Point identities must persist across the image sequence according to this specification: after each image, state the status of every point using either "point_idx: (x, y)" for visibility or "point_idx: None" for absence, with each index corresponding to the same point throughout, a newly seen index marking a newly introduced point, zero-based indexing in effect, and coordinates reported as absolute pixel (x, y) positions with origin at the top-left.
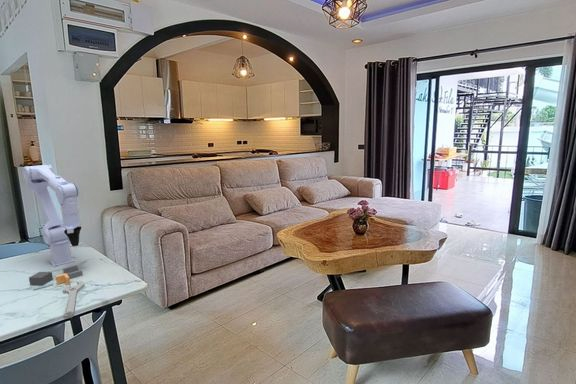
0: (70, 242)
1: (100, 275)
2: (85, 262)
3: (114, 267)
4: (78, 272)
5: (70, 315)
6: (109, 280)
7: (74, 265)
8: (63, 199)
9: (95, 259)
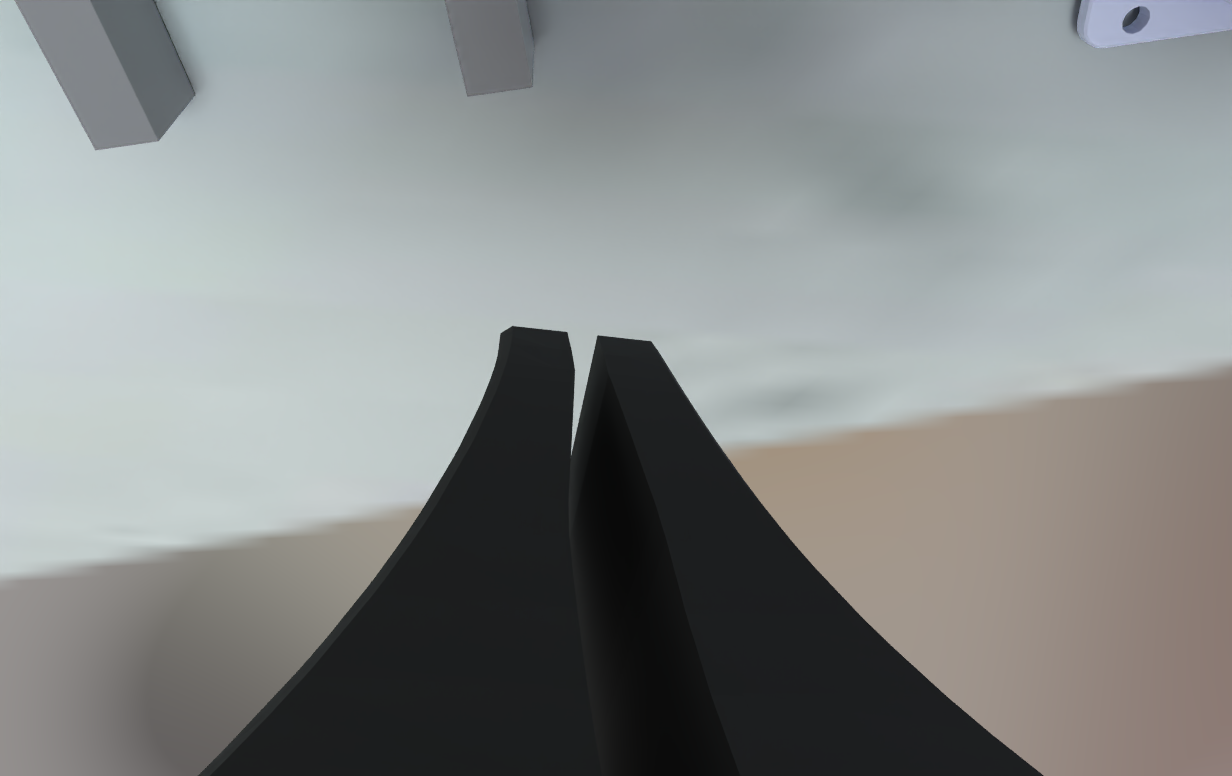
0: (489, 407)
1: (52, 331)
2: (844, 198)
3: (313, 492)
4: (64, 74)
5: None
6: None
7: (522, 39)
8: None
9: (858, 336)
